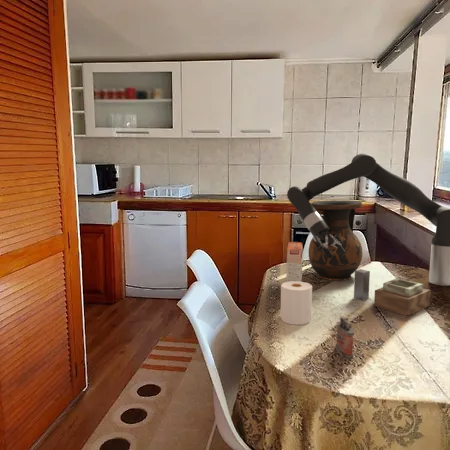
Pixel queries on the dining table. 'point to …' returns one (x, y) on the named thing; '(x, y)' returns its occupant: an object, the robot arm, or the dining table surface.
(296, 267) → the cracker box
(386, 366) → the dining table surface
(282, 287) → the toilet paper
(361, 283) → the peg
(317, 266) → the vase
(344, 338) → the lighter
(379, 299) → the stand
